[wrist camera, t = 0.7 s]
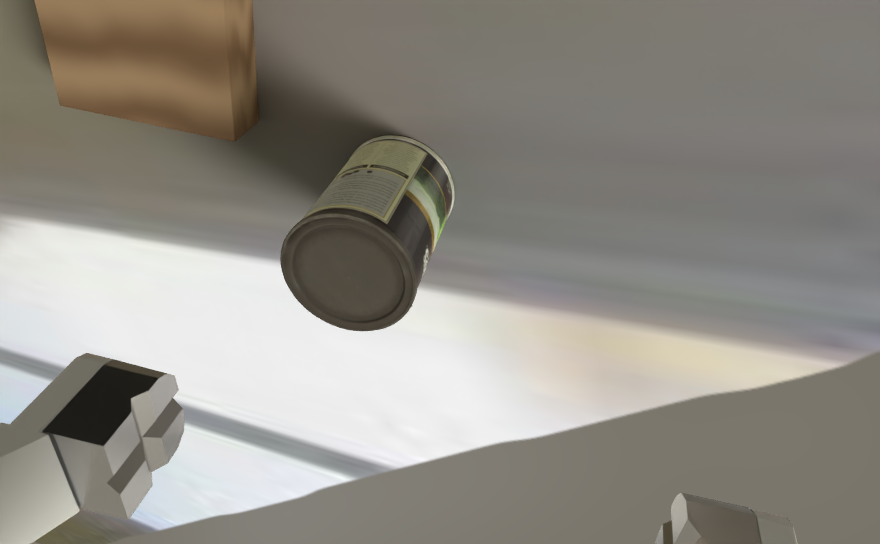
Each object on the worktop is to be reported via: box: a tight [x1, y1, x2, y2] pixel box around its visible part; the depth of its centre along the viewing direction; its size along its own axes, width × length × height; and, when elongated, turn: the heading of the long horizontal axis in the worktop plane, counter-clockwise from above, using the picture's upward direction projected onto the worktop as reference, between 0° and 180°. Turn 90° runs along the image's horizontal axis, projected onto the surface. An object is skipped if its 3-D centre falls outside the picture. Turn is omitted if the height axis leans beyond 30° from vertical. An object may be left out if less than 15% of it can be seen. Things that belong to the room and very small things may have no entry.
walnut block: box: [34, 0, 259, 142], centre depth 54 cm, size 14×16×5 cm
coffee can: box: [281, 135, 454, 331], centre depth 54 cm, size 10×10×14 cm
